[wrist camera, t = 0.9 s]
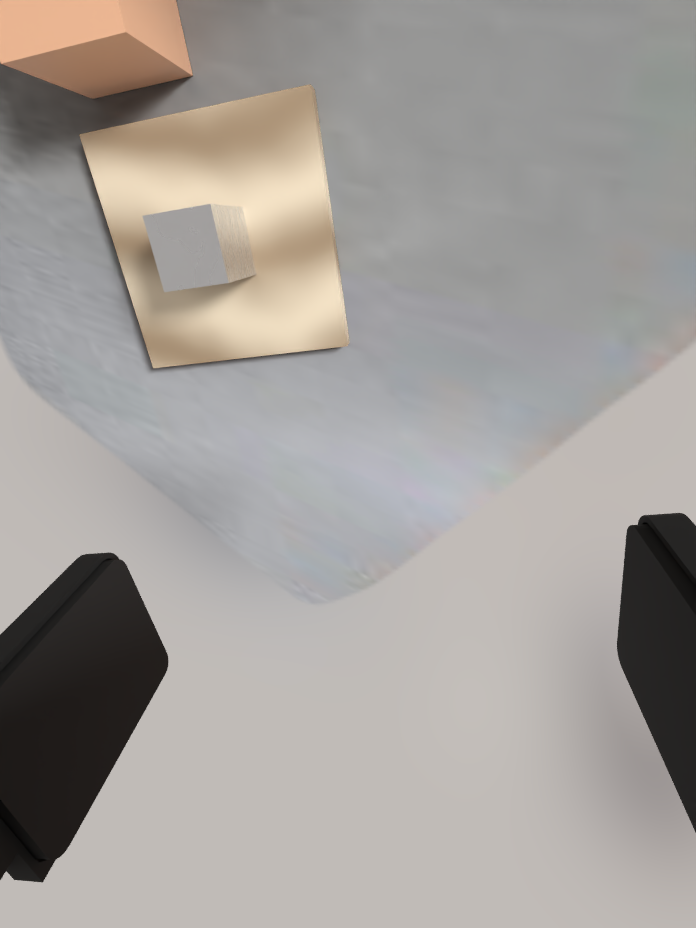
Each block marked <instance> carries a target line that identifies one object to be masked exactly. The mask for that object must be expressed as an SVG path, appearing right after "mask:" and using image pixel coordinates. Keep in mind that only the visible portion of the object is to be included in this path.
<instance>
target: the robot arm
mask: <svg viewBox="0 0 696 928" xmlns="http://www.w3.org/2000/svg"><path fill="white" fill-rule="evenodd" d="M617 651H618V657H619V661H620V664H621V666H622V669H623V671H624V674H625V676H626V678H627V680H628V682H629V685H630V687H631V689H632V691H633V694H634V696H635V698H636V700H637V703H638V705H639V707H640V709H641V712H642V713H643V716H644V718H645V720H646V723H647V725H648V727H649V729H650V731H651V734H652V736H653V738H654V741H655V743H656V745H657V747H658V749H659V752H660V754H661V756H662V758H663V760H664V762H665V765H666V767H667V769H668V772H669V774H670V776H671V778H672V781H673V783H674V785H675V787H676V790H677V792H678V794H679V796H680V799H681V800H682V803H683V805H684V807H685V810H686V812H687V814H688V816H689V818H690V821H691V823H692V825H693V828H694V830H695V832H696V526H695V525H694V523H693V522H692V521H691V520H690V519H689V518H688V517H687V516H686V515H685V514H682V513H672V514H658V515H644V516H642V517H641V518H640V519H639V522H638V525H631V526H629V527H628V529H627V535H626V547H625V559H624V570H623V581H622V593H621V605H620V616H619V627H618V639H617ZM167 667H168V655H167V653H166V650H165V648H164V646H163V644H162V641H161V639H160V637H159V635H158V633H157V631H156V628H155V626H154V624H153V622H152V620H151V618H150V615H149V613H148V611H147V609H146V607H145V605H144V602H143V600H142V598H141V596H140V594H139V592H138V590H137V587H136V585H135V583H134V581H133V579H132V576H131V574H130V572H129V570H128V568H127V566H126V564H125V563H124V562H123V561H122V560H119V558H118V557H117V556H116V555H115V554H113V553H98V554H85V555H82V556H80V557H79V558H78V559H76V560H75V561H74V562H73V563H72V564H71V565H70V566H69V567H68V568H67V569H66V570H65V571H64V572H63V573H62V574H61V575H60V576H59V577H58V578H57V579H56V580H55V581H54V582H53V583H52V584H51V585H50V586H49V587H48V588H47V589H46V590H45V591H44V592H43V593H42V594H41V595H40V596H39V597H38V598H37V599H36V600H35V601H34V602H33V603H32V604H31V605H30V606H29V607H28V608H27V609H26V610H25V611H24V612H23V613H22V614H21V615H20V616H19V617H18V618H17V619H16V620H15V621H14V622H13V623H12V624H11V625H10V626H9V627H8V628H7V629H6V630H5V631H4V632H3V633H2V634H1V635H0V880H1V878H2V877H3V875H4V873H5V872H6V871H7V872H8V873H9V874H10V876H11V877H12V878H13V879H14V880H23V881H34V882H43V881H44V879H45V877H46V875H47V874H48V872H49V870H50V868H51V867H52V865H53V863H54V861H55V860H56V859H57V858H59V857H60V856H61V855H62V854H63V853H64V852H65V851H66V850H67V848H68V847H69V845H70V843H71V841H72V840H73V838H74V836H75V834H76V833H77V831H78V829H79V827H80V825H81V823H82V822H83V820H84V818H85V817H86V815H87V813H88V811H89V809H90V808H91V806H92V804H93V802H94V800H95V799H96V796H97V795H98V793H99V792H100V789H101V788H102V786H103V784H104V783H105V781H106V779H107V777H108V775H109V774H110V772H111V770H112V768H113V767H114V765H115V763H116V761H117V759H118V758H119V756H120V754H121V752H122V750H123V748H124V747H125V745H126V743H127V742H128V740H129V738H130V736H131V734H132V733H133V731H134V729H135V727H136V725H137V723H138V722H139V720H140V718H141V716H142V715H143V713H144V711H145V709H146V707H147V706H148V704H149V702H150V700H151V698H152V697H153V695H154V693H155V692H156V690H157V688H158V686H159V684H160V682H161V681H162V679H163V677H164V675H165V673H166V671H167Z"/></svg>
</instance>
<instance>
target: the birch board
mask: <svg viewBox="0 0 696 928" xmlns="http://www.w3.org/2000/svg"><path fill="white" fill-rule="evenodd" d="M79 135H80V138H81V142H82V145H83V148H84V151H85V154H86V157H87V160H88V164H89V167H90V170H91V173H92V176H93V179H94V183H95V186H96V189H97V192H98V195H99V198H100V202H101V205H102V208H103V211H104V214H105V217H106V221H107V224H108V227H109V230H110V233H111V236H112V239H113V243H114V246H115V249H116V252H117V255H118V258H119V262H120V265H121V268H122V271H123V274H124V277H125V281H126V284H127V287H128V290H129V293H130V296H131V300H132V303H133V306H134V309H135V312H136V315H137V318H138V322H139V325H140V328H141V331H142V334H143V337H144V341H145V344H146V347H147V350H148V353H149V356H150V360H151V363H152V366H153V368H160V367H169V366H178V365H186V364H195V363H204V362H213V361H222V360H230V359H239V358H248V357H257V356H265V355H274V354H283V353H292V352H300V351H309V350H318V349H327V348H336V347H344V346H348V344H349V335H348V328H347V320H346V313H345V306H344V299H343V291H342V284H341V277H340V270H339V262H338V255H337V248H336V241H335V233H334V226H333V219H332V212H331V204H330V197H329V190H328V182H327V175H326V168H325V161H324V153H323V146H322V139H321V132H320V124H319V117H318V110H317V103H316V95H315V90H314V88H313V87H312V86H311V84H310V85H305V86H300V87H296V88H291V89H287V90H282V91H277V92H273V93H268V94H263V95H259V96H254V97H249V98H245V99H240V100H236V101H231V102H226V103H222V104H217V105H212V106H208V107H203V108H199V109H194V110H189V111H185V112H180V113H175V114H171V115H166V116H162V117H157V118H152V119H148V120H143V121H138V122H134V123H129V124H124V125H120V126H115V127H111V128H106V129H101V130H97V131H92V132H87V133H83V134H79ZM206 204H218V205H228V206H238V207H243V212H244V216H245V221H246V226H247V231H248V236H249V241H250V245H251V250H252V255H253V260H254V265H255V270H256V275H253V276H250V277H247V278H243V279H240V280H237V281H234V282H230V283H225V284H218V285H211V286H204V287H197V288H190V289H183V290H177V291H170V292H164V290H163V286H162V283H161V279H160V276H159V272H158V269H157V265H156V262H155V258H154V255H153V251H152V248H151V244H150V241H149V237H148V234H147V230H146V227H145V223H144V220H143V216H144V215H150V214H155V213H161V212H167V211H172V210H178V209H184V208H189V207H195V206H200V205H206Z"/></svg>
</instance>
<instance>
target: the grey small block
mask: <svg viewBox="0 0 696 928" xmlns="http://www.w3.org/2000/svg"><path fill="white" fill-rule="evenodd" d="M143 220H144V223H145V227H146V230H147V234H148V237H149V241H150V244H151V248H152V251H153V255H154V258H155V262H156V265H157V269H158V272H159V276H160V279H161V283H162V286H163V290H164V292H170V291H177V290H183V289H190V288H197V287H204V286H211V285H218V284H225V283H230V282H234V281H237V280H240V279H243V278H247V277H250V276H253V275H256V270H255V265H254V260H253V255H252V250H251V245H250V241H249V236H248V231H247V226H246V221H245V216H244V212H243V207H238V206H228V205H218V204H206V205H200V206H195V207H189V208H184V209H178V210H172V211H167V212H161V213H155V214H150V215H144V216H143Z"/></svg>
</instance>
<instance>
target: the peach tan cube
mask: <svg viewBox="0 0 696 928" xmlns="http://www.w3.org/2000/svg"><path fill="white" fill-rule="evenodd" d="M0 62H1V64H3V65H6V66H8V67H11V68H13V69H16V70H19V71H21V72H24V73H26V74H29V75H32V76H34V77H37V78H39V79H42V80H45V81H47V82H50V83H52V84H55V85H58V86H60V87H63V88H65V89H68V90H71V91H73V92H76V93H78V94H81V95H84V96H86V97H89V98H91V99H94V98H99V97H103V96H107V95H112V94H116V93H121V92H125V91H129V90H134V89H138V88H142V87H147V86H151V85H155V84H160V83H164V82H168V81H173V80H177V79H182V78H186V77H190V76H193V74H192V70H191V65H190V61H189V56H188V52H187V47H186V43H185V38H184V34H183V29H182V25H181V20H180V16H179V11H178V7H177V2H176V0H0Z"/></svg>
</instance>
